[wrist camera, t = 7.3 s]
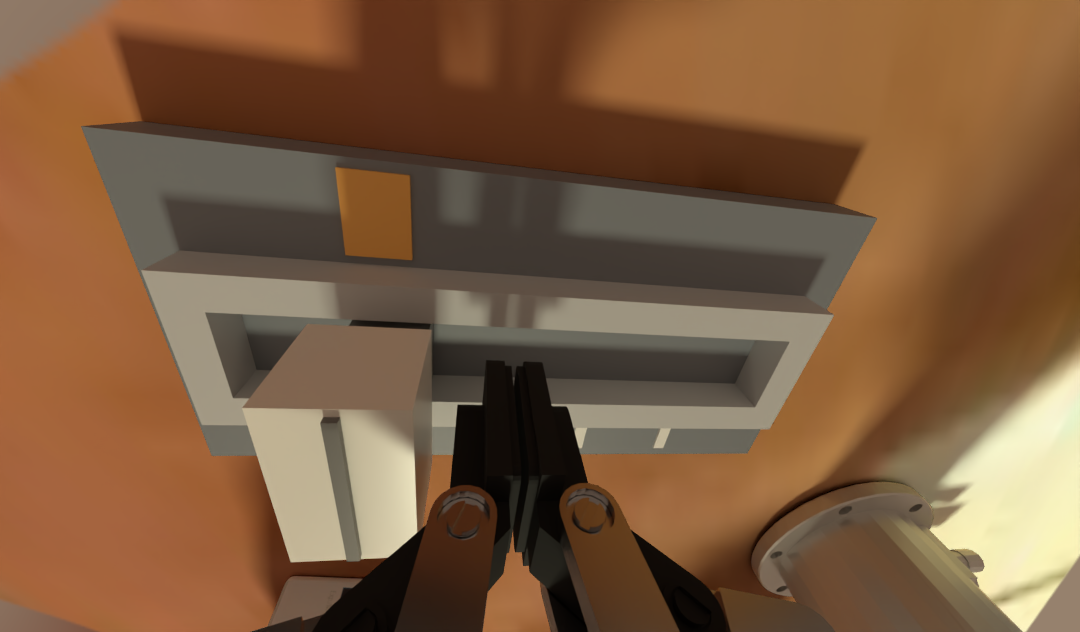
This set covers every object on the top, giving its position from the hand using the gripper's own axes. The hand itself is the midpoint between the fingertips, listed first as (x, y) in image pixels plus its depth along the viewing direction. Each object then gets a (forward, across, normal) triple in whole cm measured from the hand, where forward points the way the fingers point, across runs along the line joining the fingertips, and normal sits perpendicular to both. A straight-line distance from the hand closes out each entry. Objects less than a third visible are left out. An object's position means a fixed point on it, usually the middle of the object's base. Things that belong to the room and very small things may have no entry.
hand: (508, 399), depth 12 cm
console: (+5, -1, 0) cm, 5 cm away
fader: (+3, +4, 0) cm, 5 cm away
